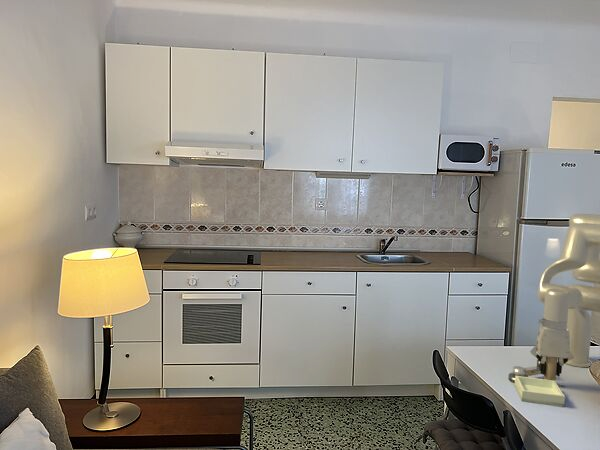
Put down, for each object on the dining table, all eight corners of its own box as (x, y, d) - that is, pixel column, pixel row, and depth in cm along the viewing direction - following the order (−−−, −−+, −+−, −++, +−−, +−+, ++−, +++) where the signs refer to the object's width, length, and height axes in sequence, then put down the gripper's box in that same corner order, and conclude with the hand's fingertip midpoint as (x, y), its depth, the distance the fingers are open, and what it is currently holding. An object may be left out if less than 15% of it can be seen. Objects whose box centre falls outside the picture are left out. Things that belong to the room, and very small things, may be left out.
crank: (519, 379, 169) (520, 366, 169) (509, 374, 173) (510, 361, 173) (547, 375, 174) (548, 362, 174) (537, 370, 178) (539, 357, 178)
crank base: (506, 375, 177) (507, 371, 176) (562, 382, 172) (562, 378, 172) (510, 383, 170) (510, 379, 170) (568, 390, 165) (568, 386, 165)
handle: (559, 389, 166) (563, 347, 165) (538, 384, 169) (542, 344, 168) (559, 384, 170) (563, 343, 169) (539, 380, 174) (543, 340, 172)
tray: (514, 385, 168) (515, 375, 168) (553, 390, 165) (554, 380, 165) (521, 401, 156) (522, 390, 156) (563, 406, 153) (564, 396, 153)
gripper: (531, 324, 166) (526, 375, 168) (584, 330, 162) (579, 381, 164) (526, 318, 173) (522, 367, 175) (577, 323, 169) (572, 373, 171)
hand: (550, 373), depth 169 cm, fingers closed on handle, 4 cm apart
